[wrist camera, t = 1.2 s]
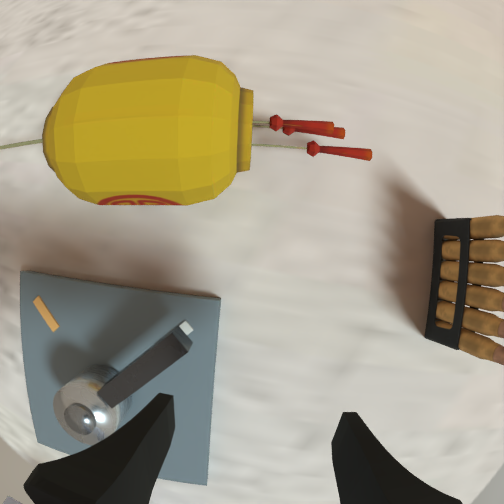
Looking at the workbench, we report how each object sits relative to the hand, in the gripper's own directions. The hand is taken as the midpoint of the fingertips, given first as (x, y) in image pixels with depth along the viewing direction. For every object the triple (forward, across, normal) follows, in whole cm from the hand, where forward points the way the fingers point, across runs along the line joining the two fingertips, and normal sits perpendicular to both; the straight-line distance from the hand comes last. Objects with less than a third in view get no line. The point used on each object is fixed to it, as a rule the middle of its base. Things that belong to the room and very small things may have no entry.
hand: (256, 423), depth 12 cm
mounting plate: (+10, +12, +8) cm, 18 cm away
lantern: (+15, +9, -11) cm, 21 cm away
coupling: (+9, +9, +6) cm, 14 cm away
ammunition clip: (+15, -16, -3) cm, 22 cm away
